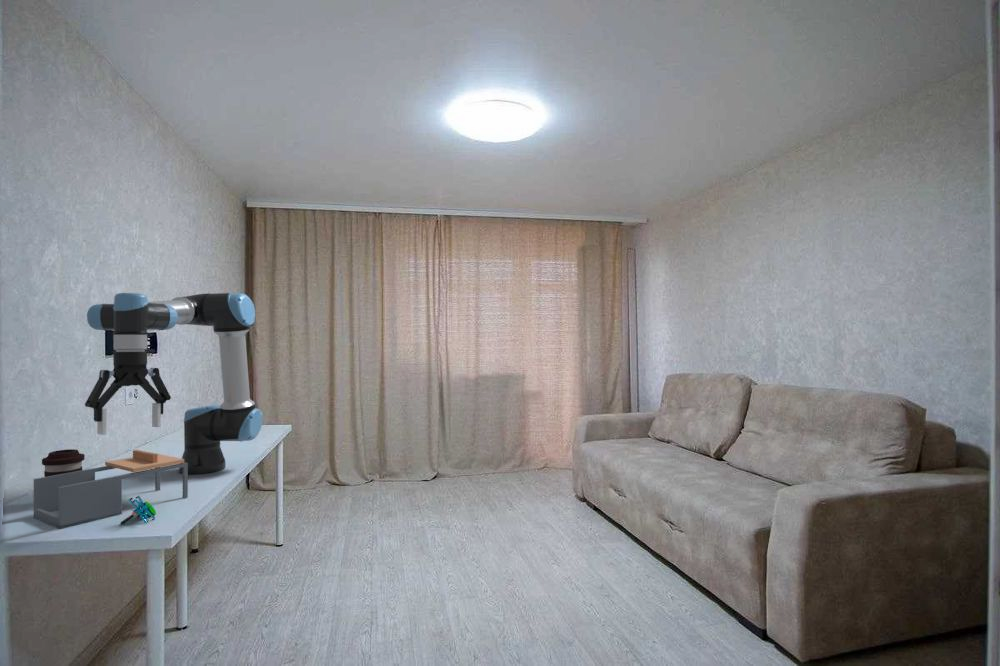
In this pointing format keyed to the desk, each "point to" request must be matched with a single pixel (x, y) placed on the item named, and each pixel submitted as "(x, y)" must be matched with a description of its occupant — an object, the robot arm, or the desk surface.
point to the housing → (86, 495)
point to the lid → (143, 461)
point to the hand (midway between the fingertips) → (130, 430)
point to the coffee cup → (62, 462)
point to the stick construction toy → (141, 510)
